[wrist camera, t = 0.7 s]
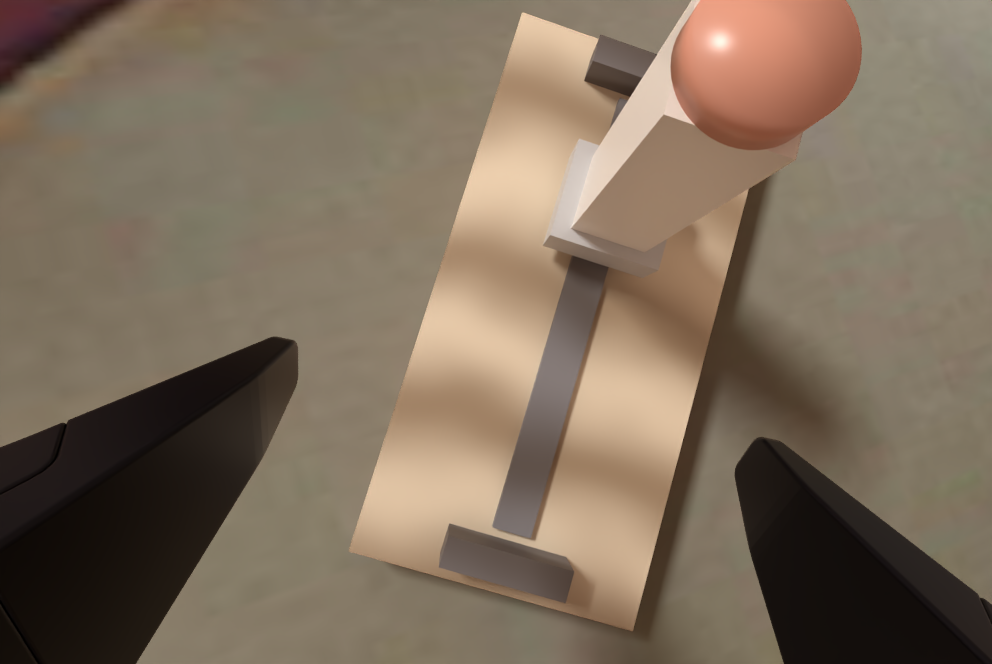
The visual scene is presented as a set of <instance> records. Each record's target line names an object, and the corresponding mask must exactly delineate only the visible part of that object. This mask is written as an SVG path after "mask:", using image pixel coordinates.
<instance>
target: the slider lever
mask: <svg viewBox="0 0 992 664" xmlns="http://www.w3.org/2000/svg"><path fill="white" fill-rule="evenodd" d="M861 54H862V47H861V37H860V32H859V28H858V25H857V22H856V19H855V16H854V14H853V12H852V10H851V8H850V6H849V5H848V3H847V2H846V0H692V1H691V2H690V4H689V5H688V7H687V8H686V10H685V12H684V13H683V15H682V16H681V18H680V20H679V21H678V23H677V24H676V26H675V27H674V29H673V31H672V32H671V34H670V35H669V37H668V38H667V40H666V42H665V43H664V45H663V46H662V48H661V49H660V51H659V53H658V54H657V56H656V57H655V59H654V60H653V62H652V64H651V65H650V67H649V68H648V70H647V71H646V73H645V75H644V76H643V78H642V79H641V81H640V82H639V84H638V86H637V87H636V89H635V90H634V92H633V93H632V95H631V97H630V98H629V100H628V101H627V103H626V104H625V106H624V108H623V109H622V111H621V112H620V114H619V116H618V117H617V119H616V120H615V122H614V123H613V125H612V127H611V128H610V130H609V131H608V133H607V134H606V136H605V138H604V139H603V141H602V142H601V144H600V145H596V144H593V143H590V142H588V141H585V140H582V139H579V140H578V142H577V144H576V146H575V147H574V149H573V151H572V153H571V155H570V157H569V160H568V164H567V167H566V170H565V173H564V177H563V180H562V183H561V187H560V190H559V193H558V197H557V200H556V203H555V206H554V210H553V213H552V216H551V220H550V223H549V226H548V230H547V233H546V236H545V239H544V243H543V246H545V247H548V248H551V249H554V250H557V251H560V252H564V253H567V254H570V255H573V256H576V257H579V258H582V259H585V260H588V261H591V262H594V263H597V264H601V265H604V266H607V267H610V268H613V269H616V270H619V271H622V272H625V273H628V274H631V275H634V276H638V277H641V278H644V277H646V276H648V275H650V274H652V273H654V272H656V271H658V270H659V267H660V263H661V259H662V256H663V252H664V249H665V245H666V241H667V239H668V238H669V237H671V236H673V235H674V234H676V233H677V232H679V231H681V230H682V229H684V228H686V227H687V226H689V225H691V224H692V223H694V222H695V221H697V220H699V219H700V218H702V217H704V216H705V215H707V214H708V213H710V212H712V211H713V210H715V209H717V208H718V207H720V206H721V205H723V204H725V203H726V202H728V201H730V200H731V199H733V198H734V197H736V196H738V195H739V194H741V193H743V192H744V191H746V190H747V189H749V188H751V187H752V186H754V185H756V184H757V183H759V182H760V181H762V180H764V179H765V178H767V177H769V176H770V175H772V174H774V173H775V172H777V171H778V170H780V169H782V168H783V167H785V166H787V165H788V164H790V163H791V162H793V161H795V160H796V157H797V153H798V149H799V145H800V141H801V137H802V133H803V131H805V130H806V129H808V128H809V127H810V126H812V125H813V124H815V123H816V122H818V121H819V120H821V119H822V118H824V117H825V116H827V115H828V114H829V113H831V112H832V111H833V110H835V109H836V108H837V107H838V106H839V105H840V104H841V103H842V102H843V101H844V100H845V99H846V97H847V96H848V94H849V93H850V91H851V90H852V88H853V86H854V84H855V82H856V79H857V76H858V73H859V70H860V64H861Z"/></svg>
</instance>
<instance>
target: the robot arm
mask: <svg viewBox="0 0 992 664" xmlns="http://www.w3.org/2000/svg"><path fill="white" fill-rule="evenodd" d="M297 380H298V346H297V343H296V342H295V341H294V340H290V339H286V338H281V337H270V338H268V339H265V340H263V341H260V342H258V343H256V344H253V345H251V346H248V347H246V348H243V349H241V350H239V351H236V352H234V353H231V354H229V355H226V356H224V357H221V358H219V359H217V360H214V361H212V362H209V363H207V364H204V365H202V366H200V367H197V368H195V369H192V370H190V371H187V372H185V373H182V374H180V375H178V376H175V377H173V378H170V379H168V380H165V381H163V382H161V383H158V384H156V385H153V386H151V387H148V388H146V389H143V390H141V391H139V392H136V393H134V394H131V395H129V396H126V397H124V398H122V399H119V400H117V401H114V402H112V403H109V404H107V405H104V406H102V407H100V408H97V409H95V410H92V411H90V412H87V413H85V414H82V415H80V416H78V417H75V418H73V419H70V420H69V421H68V422H67V424H65V423H60V424H58V425H55V426H53V427H50V428H48V429H46V430H43V431H41V432H38V433H36V434H33V435H31V436H28V437H26V438H23V439H21V440H18V441H16V442H13V443H10V444H8V445H5V446H3V447H0V664H136V663H137V661H138V660H139V658H140V656H141V655H142V653H143V651H144V650H145V648H146V647H147V645H148V643H149V642H150V640H151V638H152V637H153V635H154V634H155V632H156V630H157V629H158V627H159V625H160V624H161V622H162V621H163V619H164V617H165V616H166V614H167V612H168V611H169V609H170V608H171V606H172V604H173V603H174V601H175V600H176V598H177V596H178V595H179V593H180V591H181V590H182V588H183V587H184V585H185V583H186V582H187V580H188V578H189V577H190V575H191V574H192V572H193V570H194V569H195V567H196V565H197V564H198V562H199V561H200V559H201V557H202V556H203V554H204V552H205V551H206V549H207V548H208V546H209V544H210V543H211V541H212V540H213V538H214V536H215V535H216V533H217V531H218V530H219V528H220V527H221V525H222V523H223V522H224V520H225V518H226V517H227V515H228V514H229V512H230V510H231V509H232V507H233V505H234V504H235V502H236V501H237V499H238V497H239V496H240V494H241V492H242V491H243V489H244V488H245V486H246V484H247V483H248V481H249V480H250V478H251V476H252V475H253V473H254V471H255V470H256V468H257V466H258V465H259V463H260V461H261V460H262V458H263V456H264V454H265V452H266V450H267V448H268V446H269V444H270V442H271V439H272V437H273V435H274V433H275V431H276V429H277V426H278V424H279V422H280V420H281V418H282V416H283V413H284V411H285V409H286V407H287V405H288V403H289V401H290V398H291V396H292V394H293V392H294V390H295V387H296V384H297ZM735 481H736V486H737V491H738V496H739V501H740V506H741V511H742V516H743V521H744V526H745V531H746V536H747V541H748V545H749V550H750V553H751V557H752V561H753V564H754V567H755V571H756V574H757V577H758V580H759V584H760V587H761V590H762V594H763V597H764V600H765V603H766V607H767V610H768V613H769V617H770V620H771V623H772V626H773V630H774V633H775V636H776V639H777V643H778V646H779V649H780V653H781V656H782V659H783V662H784V664H992V604H990V603H989V602H988V601H987V600H985V599H983V598H980V597H979V595H978V594H977V593H976V592H975V591H973V590H972V589H971V588H970V587H968V586H967V585H966V584H964V583H963V582H962V581H960V580H959V579H958V578H957V577H955V576H954V575H953V574H951V573H950V572H949V571H948V570H946V569H945V568H944V567H942V566H941V565H940V564H939V563H937V562H936V561H935V560H933V559H932V558H931V557H929V556H928V555H927V554H926V553H924V552H923V551H922V550H920V549H919V548H918V547H917V546H915V545H914V544H913V543H911V542H910V541H909V540H908V539H906V538H905V537H904V536H902V535H901V534H900V533H898V532H897V531H896V530H895V529H893V528H892V527H891V526H889V525H888V524H887V523H886V522H884V521H883V520H882V519H880V518H879V517H878V516H876V515H875V514H874V513H873V512H871V511H870V510H869V509H867V508H866V507H865V506H864V505H862V504H861V503H860V502H858V501H857V500H856V499H855V498H853V497H852V496H851V495H849V494H848V493H847V492H845V491H844V490H843V489H842V488H840V487H839V486H838V485H836V484H835V483H834V482H833V481H831V480H830V479H829V478H827V477H826V476H825V475H824V474H822V473H821V472H820V471H818V470H817V469H816V468H814V467H813V466H812V465H811V464H809V463H808V462H807V461H805V460H804V459H803V458H802V457H800V456H799V455H798V454H796V453H795V452H794V451H792V450H791V449H790V448H789V447H787V446H786V445H785V444H783V443H782V442H780V441H778V440H773V439H768V438H764V437H759V438H756V439H755V440H754V441H753V442H752V443H751V445H750V446H749V447H748V449H747V450H746V452H745V453H744V455H743V456H742V458H741V459H740V460H739V462H738V463H737V465H736V468H735Z"/></svg>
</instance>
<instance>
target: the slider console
mask: <svg viewBox="0 0 992 664" xmlns="http://www.w3.org/2000/svg"><path fill="white" fill-rule="evenodd" d="M656 56H657V54H654V53H651V52H649V51H646V50H643V49H640V48H637V47H634V46H632V45H629V44H626V43H623V42H620V41H617V40H614V39H612V38H609V37H606V36H603V35H600V37H599V39H597V38H594V37H591V36H588V35H585V34H583V33H580V32H577V31H574V30H571V29H568V28H565V27H563V26H560V25H557V24H554V23H551V22H548V21H546V20H543V19H540V18H537V17H534V16H531V15H528V14H526V13H523V12H522V15H521V18H520V21H519V25H518V28H517V31H516V34H515V37H514V40H513V43H512V46H511V49H510V52H509V55H508V59H507V62H506V65H505V68H504V71H503V74H502V77H501V80H500V83H499V86H498V90H497V93H496V96H495V99H494V102H493V105H492V108H491V111H490V114H489V117H488V121H487V124H486V127H485V130H484V133H483V136H482V139H481V142H480V145H479V148H478V152H477V155H476V158H475V161H474V164H473V167H472V170H471V173H470V176H469V179H468V182H467V186H466V189H465V192H464V195H463V198H462V201H461V204H460V207H459V210H458V213H457V217H456V220H455V223H454V226H453V229H452V232H451V235H450V238H449V241H448V244H447V248H446V251H445V254H444V257H443V260H442V263H441V266H440V269H439V272H438V275H437V279H436V282H435V285H434V288H433V291H432V294H431V297H430V300H429V303H428V306H427V309H426V313H425V316H424V319H423V322H422V325H421V328H420V331H419V334H418V337H417V340H416V344H415V347H414V350H413V353H412V356H411V359H410V362H409V365H408V368H407V371H406V375H405V378H404V381H403V384H402V387H401V390H400V393H399V396H398V399H397V402H396V406H395V409H394V412H393V415H392V418H391V421H390V424H389V427H388V430H387V433H386V436H385V440H384V443H383V446H382V449H381V452H380V455H379V458H378V461H377V464H376V467H375V471H374V474H373V477H372V480H371V483H370V486H369V489H368V492H367V495H366V498H365V502H364V505H363V508H362V511H361V514H360V517H359V520H358V523H357V526H356V529H355V533H354V536H353V539H352V542H351V545H350V548H349V552H353V553H356V554H360V555H363V556H367V557H371V558H374V559H378V560H381V561H385V562H388V563H392V564H395V565H399V566H402V567H406V568H410V569H413V570H417V571H420V572H424V573H427V574H431V575H434V576H438V577H442V578H445V579H449V580H452V581H456V582H459V583H463V584H466V585H470V586H473V587H477V588H481V589H484V590H488V591H491V592H495V593H498V594H502V595H505V596H509V597H512V598H516V599H520V600H523V601H527V602H530V603H534V604H537V605H541V606H544V607H548V608H552V609H555V610H559V611H562V612H566V613H569V614H573V615H576V616H580V617H583V618H587V619H591V620H594V621H598V622H601V623H605V624H608V625H612V626H615V627H619V628H623V629H626V630H630V631H633V628H634V624H635V621H636V617H637V613H638V609H639V605H640V602H641V598H642V594H643V590H644V586H645V583H646V579H647V575H648V571H649V567H650V564H651V560H652V556H653V552H654V548H655V544H656V541H657V537H658V533H659V529H660V525H661V522H662V518H663V514H664V510H665V506H666V503H667V499H668V495H669V491H670V487H671V484H672V480H673V476H674V472H675V468H676V465H677V461H678V457H679V453H680V449H681V445H682V442H683V438H684V434H685V430H686V426H687V423H688V419H689V415H690V411H691V407H692V404H693V400H694V396H695V392H696V388H697V385H698V381H699V377H700V373H701V369H702V365H703V362H704V358H705V354H706V350H707V346H708V343H709V339H710V335H711V331H712V327H713V324H714V320H715V316H716V312H717V308H718V305H719V301H720V297H721V293H722V289H723V285H724V282H725V278H726V274H727V270H728V266H729V263H730V259H731V255H732V251H733V247H734V244H735V240H736V236H737V232H738V228H739V225H740V221H741V217H742V213H743V209H744V206H745V202H746V198H747V194H748V190H749V189H747V190H746V191H744V192H743V193H741V194H739V195H738V196H736V197H734V198H733V199H731V200H730V201H728V202H726V203H725V204H723V205H721V206H720V207H718V208H717V209H715V210H713V211H712V212H710V213H708V214H707V215H705V216H704V217H702V218H700V219H699V220H697V221H695V222H694V223H692V224H691V225H689V226H687V227H686V228H684V229H682V230H681V231H679V232H677V233H676V234H674V235H673V236H671V237H669V238H668V239H667V241H666V245H665V249H664V252H663V256H662V259H661V263H660V267H659V270H658V271H656V272H654V273H652V274H650V275H648V276H646V277H644V278H641V277H638V276H634V275H631V274H628V273H625V272H622V271H619V270H616V269H613V268H610V267H607V266H604V265H601V264H597V263H594V262H591V261H588V260H585V259H582V258H579V257H576V256H573V255H570V254H567V253H564V252H560V251H557V250H554V249H551V248H548V247H545V246H543V243H544V239H545V236H546V233H547V230H548V226H549V223H550V220H551V216H552V213H553V210H554V206H555V203H556V200H557V197H558V193H559V190H560V187H561V183H562V180H563V177H564V173H565V170H566V167H567V164H568V160H569V157H570V155H571V153H572V151H573V149H574V147H575V146H576V144H577V142H578V140H579V139H582V140H585V141H588V142H590V143H593V144H596V145H600V144H601V142H602V141H603V139H604V138H605V136H606V134H607V133H608V131H609V130H610V128H611V127H612V125H613V123H614V122H615V120H616V119H617V117H618V116H619V114H620V112H621V111H622V109H623V108H624V106H625V104H626V103H627V101H628V100H629V98H630V97H631V95H632V93H633V92H634V90H635V89H636V87H637V86H638V84H639V82H640V81H641V79H642V78H643V76H644V75H645V73H646V71H647V70H648V68H649V67H650V65H651V64H652V62H653V60H654V59H655V57H656Z"/></svg>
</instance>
